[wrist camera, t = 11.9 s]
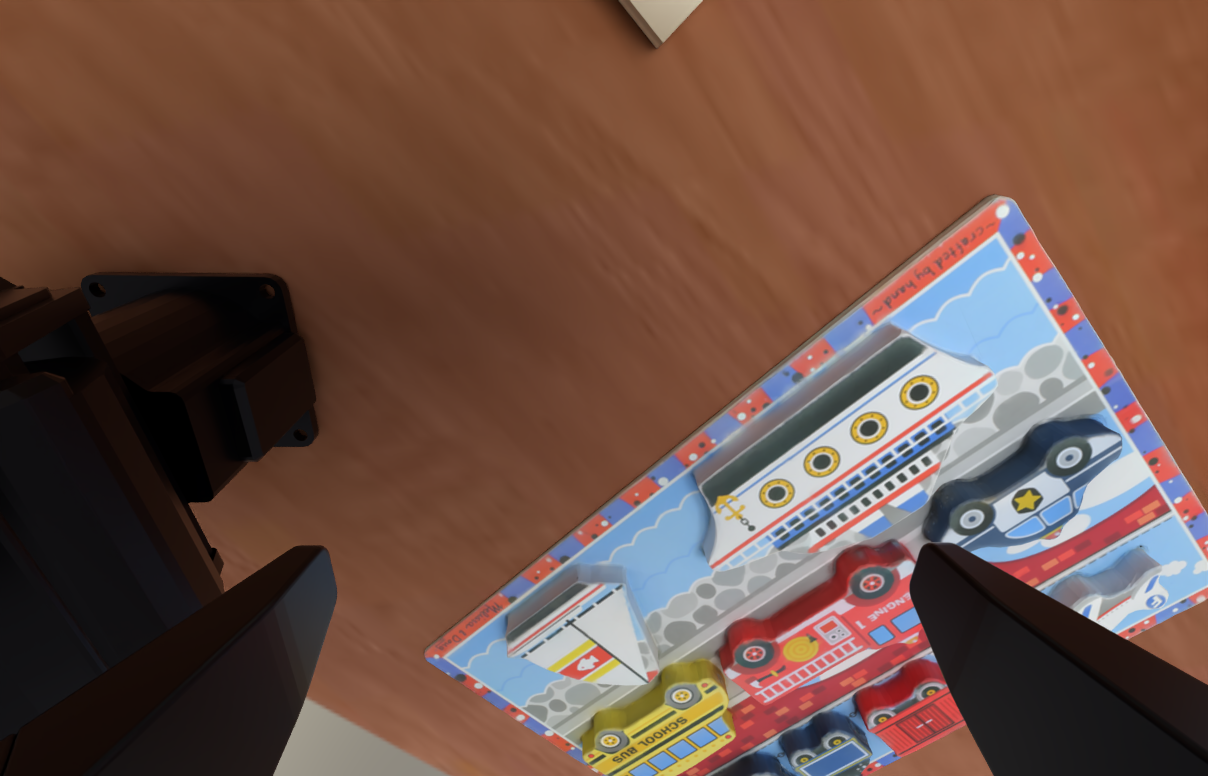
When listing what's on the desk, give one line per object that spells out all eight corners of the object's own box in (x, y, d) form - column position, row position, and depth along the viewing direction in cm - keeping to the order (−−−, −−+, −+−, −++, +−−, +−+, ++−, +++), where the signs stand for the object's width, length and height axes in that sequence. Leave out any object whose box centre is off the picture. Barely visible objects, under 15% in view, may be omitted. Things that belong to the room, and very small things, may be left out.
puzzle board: (985, 184, 20) (1040, 193, 17) (1213, 553, 27) (1274, 594, 25) (420, 641, 28) (405, 690, 26) (715, 828, 36) (725, 879, 33)
